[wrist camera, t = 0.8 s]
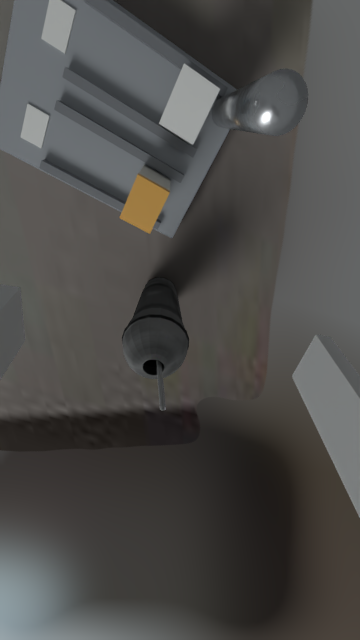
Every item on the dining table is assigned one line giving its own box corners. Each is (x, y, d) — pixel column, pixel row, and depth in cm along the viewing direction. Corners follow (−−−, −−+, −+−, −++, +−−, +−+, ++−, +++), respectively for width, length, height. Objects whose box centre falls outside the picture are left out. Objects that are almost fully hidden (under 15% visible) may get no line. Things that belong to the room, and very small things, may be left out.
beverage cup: (147, 258, 39) (127, 360, 23) (195, 282, 41) (209, 392, 25) (125, 301, 43) (94, 416, 26) (170, 321, 45) (168, 439, 28)
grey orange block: (128, 200, 32) (119, 218, 27) (144, 164, 30) (137, 174, 25) (154, 214, 33) (149, 233, 28) (170, 179, 31) (169, 192, 26)
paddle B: (161, 122, 29) (158, 123, 23) (182, 75, 27) (184, 63, 21) (189, 140, 29) (193, 145, 24) (210, 95, 27) (220, 88, 22)
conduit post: (206, 118, 28) (242, 117, 14) (220, 90, 27) (276, 54, 12) (227, 132, 29) (284, 146, 14) (242, 106, 28) (319, 90, 13)
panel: (4, 142, 32) (-15, 144, 29) (40, -45, 25) (19, -71, 21) (172, 230, 37) (171, 241, 34) (241, 98, 30) (249, 96, 27)
